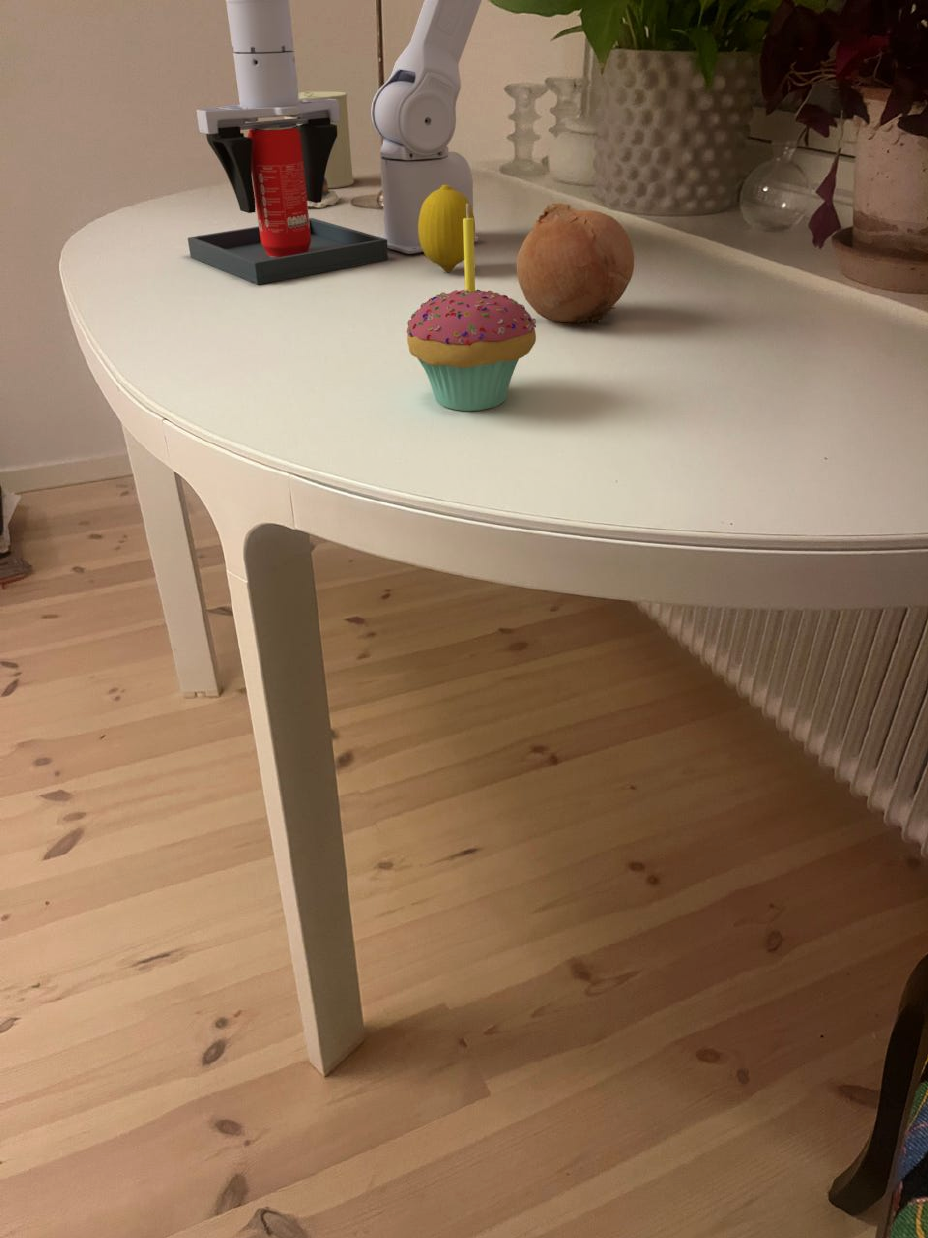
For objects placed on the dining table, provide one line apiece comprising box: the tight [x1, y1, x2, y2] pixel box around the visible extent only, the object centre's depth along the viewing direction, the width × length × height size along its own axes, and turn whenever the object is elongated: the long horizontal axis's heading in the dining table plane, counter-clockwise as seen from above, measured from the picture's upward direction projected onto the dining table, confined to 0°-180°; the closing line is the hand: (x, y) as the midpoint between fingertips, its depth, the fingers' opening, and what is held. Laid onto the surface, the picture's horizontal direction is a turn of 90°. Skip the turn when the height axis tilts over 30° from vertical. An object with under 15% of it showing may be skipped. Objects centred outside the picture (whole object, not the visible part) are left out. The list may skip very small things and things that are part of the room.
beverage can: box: [246, 124, 311, 258], centre depth 96 cm, size 5×5×12 cm
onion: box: [516, 202, 635, 326], centre depth 77 cm, size 10×9×10 cm
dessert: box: [307, 177, 340, 209], centre depth 125 cm, size 8×7×6 cm
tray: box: [187, 217, 389, 286], centre depth 99 cm, size 15×15×2 cm
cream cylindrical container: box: [283, 91, 355, 190], centre depth 135 cm, size 9×9×12 cm
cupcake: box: [406, 204, 537, 412], centre depth 61 cm, size 9×8×12 cm
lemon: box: [418, 184, 476, 273], centre depth 91 cm, size 6×6×8 cm
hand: (281, 206), depth 97 cm, fingers open, 7 cm apart
